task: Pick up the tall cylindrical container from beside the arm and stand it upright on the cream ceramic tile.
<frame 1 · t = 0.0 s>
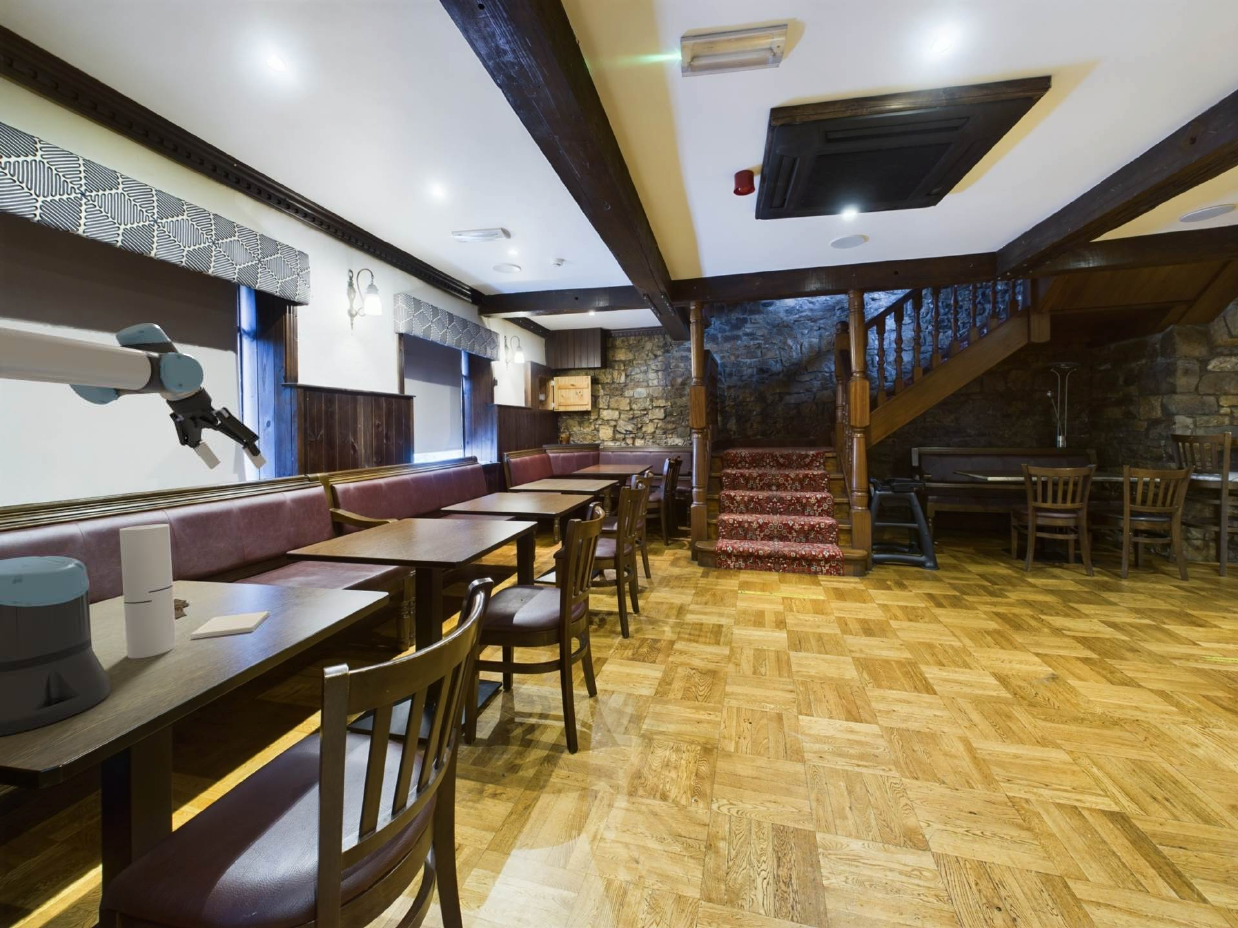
hand: (238, 465, 124), 36 cm above the table, tool tilted 35°, fingers open, 13 cm apart
brown relief tablet: (159, 612, 123), on the table
ceramic tile: (232, 626, 112), on the table
cylindrical container: (152, 651, 99), on the table
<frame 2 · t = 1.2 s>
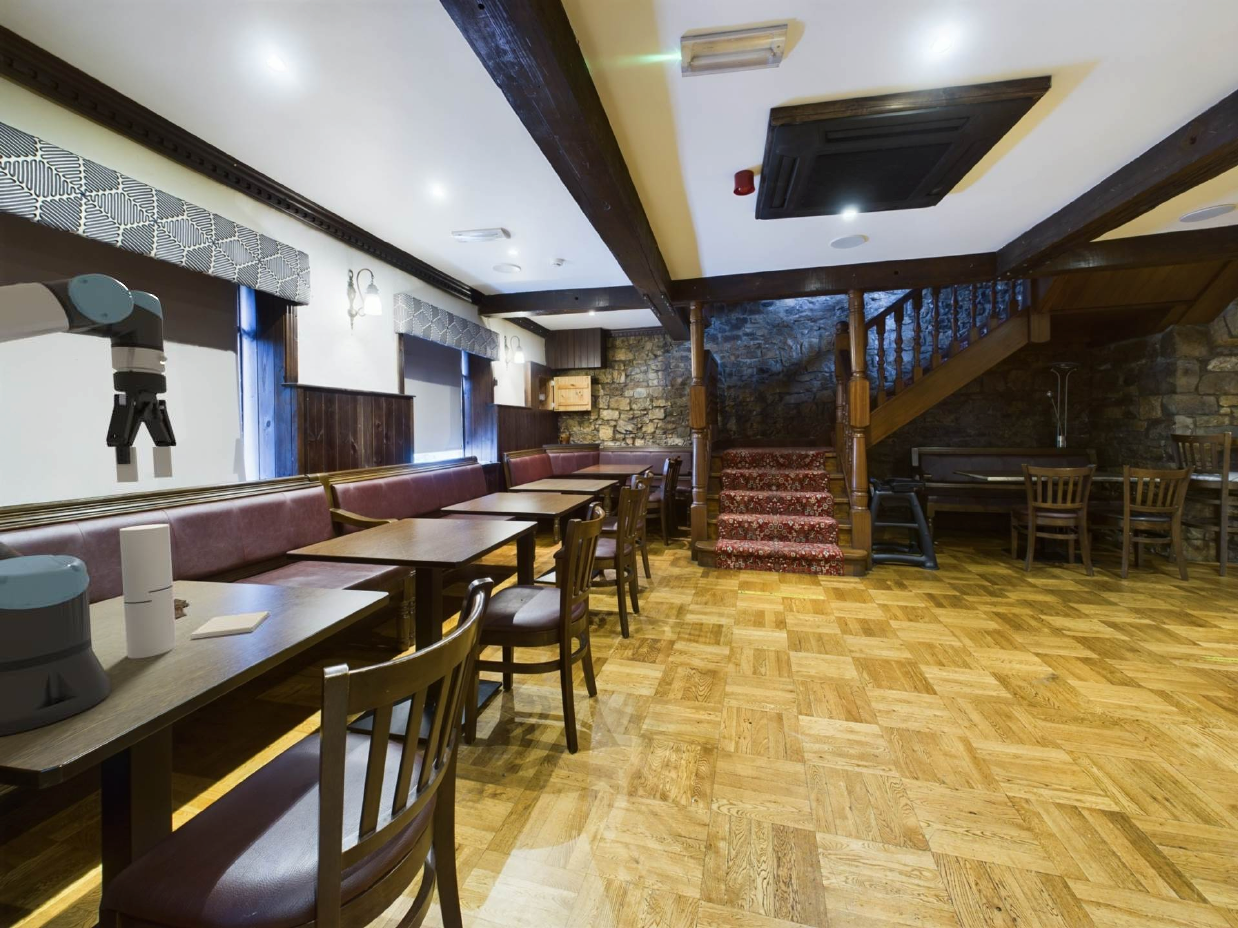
hand: (146, 479, 98), 34 cm above the table, tool pointing down, fingers open, 13 cm apart
nothing on the table moved.
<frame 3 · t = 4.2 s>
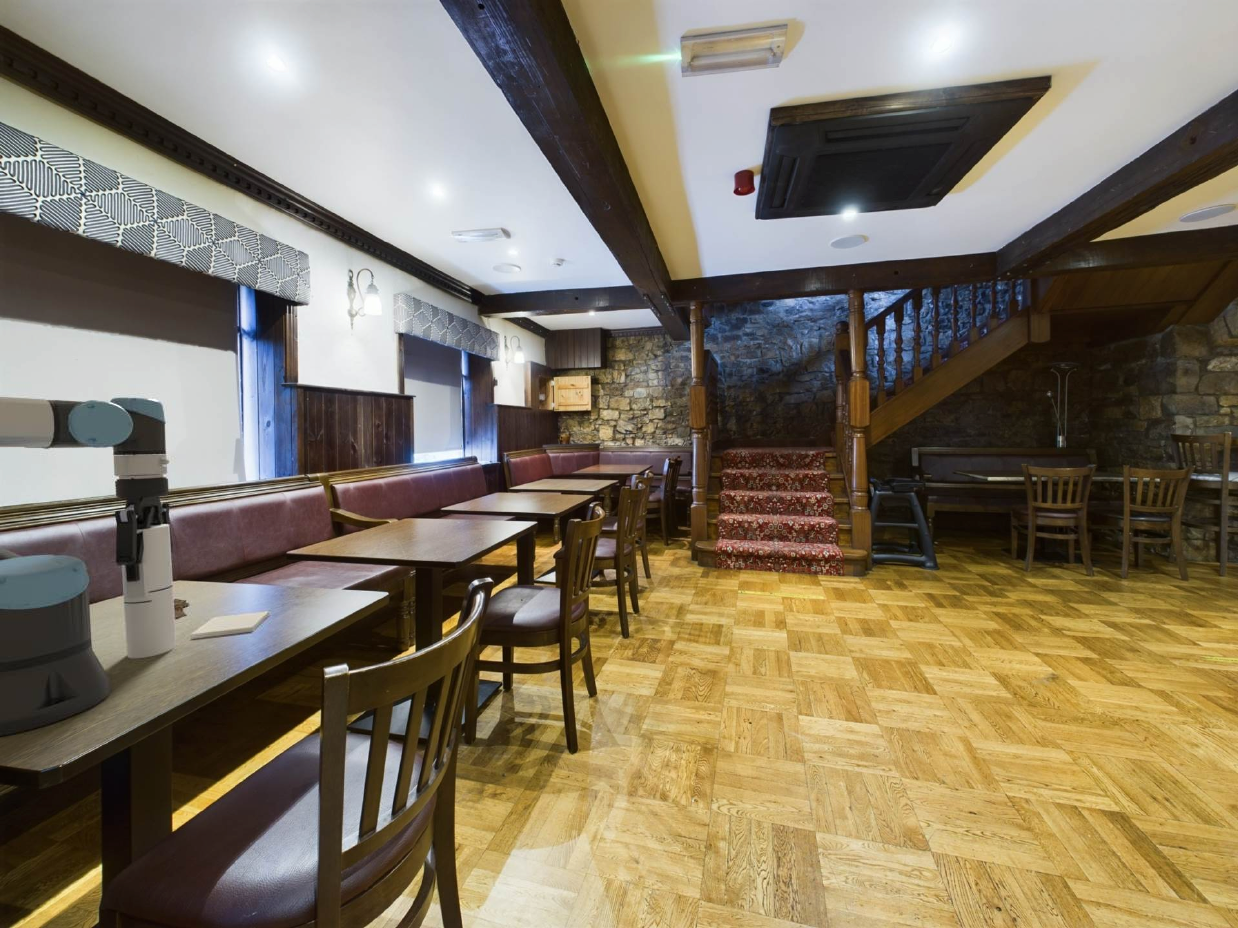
hand: (148, 591, 98), 12 cm above the table, tool pointing down, fingers closed on cylindrical container, 7 cm apart
cylindrical container: (152, 651, 99), on the table, touching gripper
everything else where it was.
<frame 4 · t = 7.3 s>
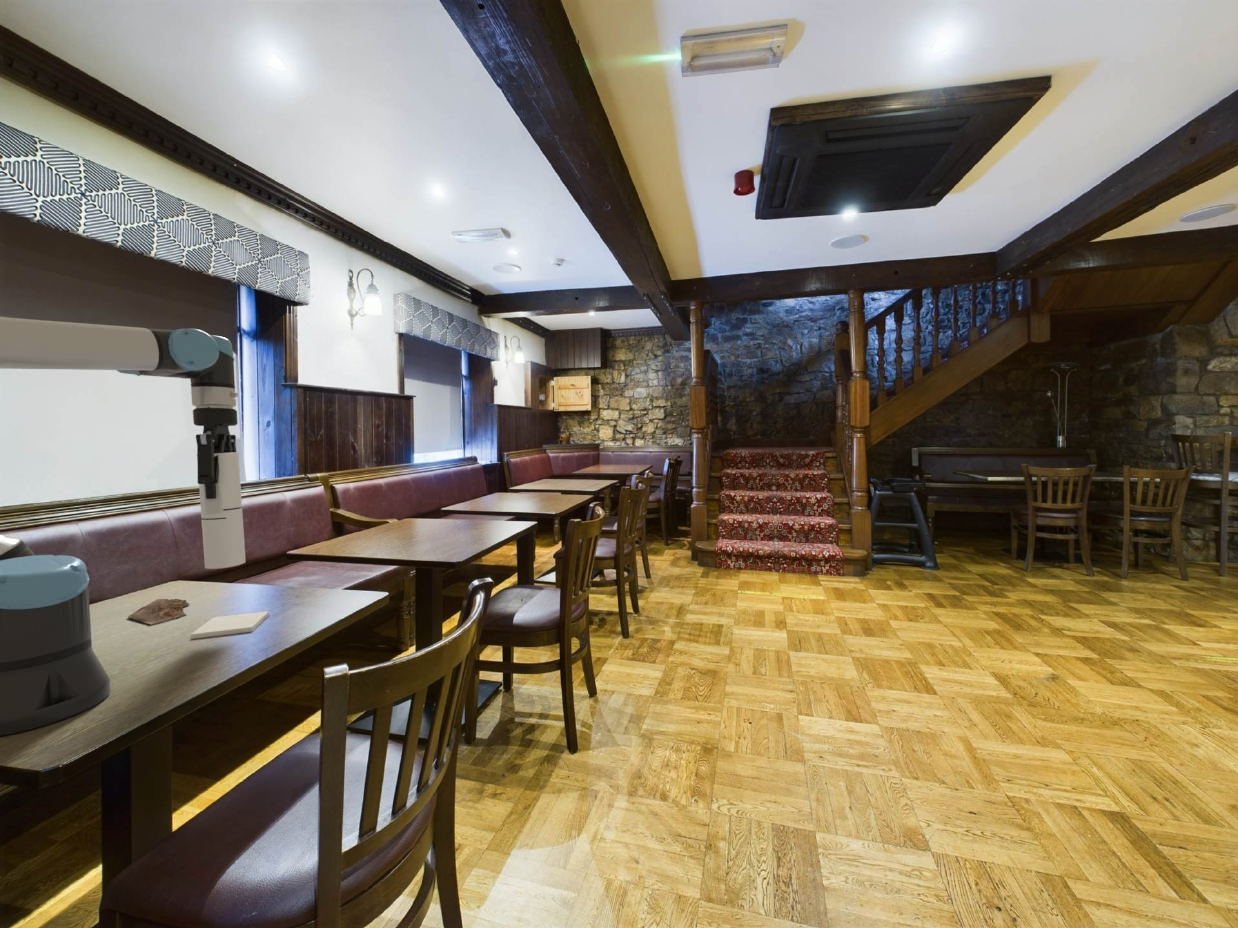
hand: (222, 511, 110), 26 cm above the table, tool pointing down, fingers closed on cylindrical container, 7 cm apart
cylindrical container: (225, 565, 110), point 14 cm above the table, touching gripper
everything else where it was.
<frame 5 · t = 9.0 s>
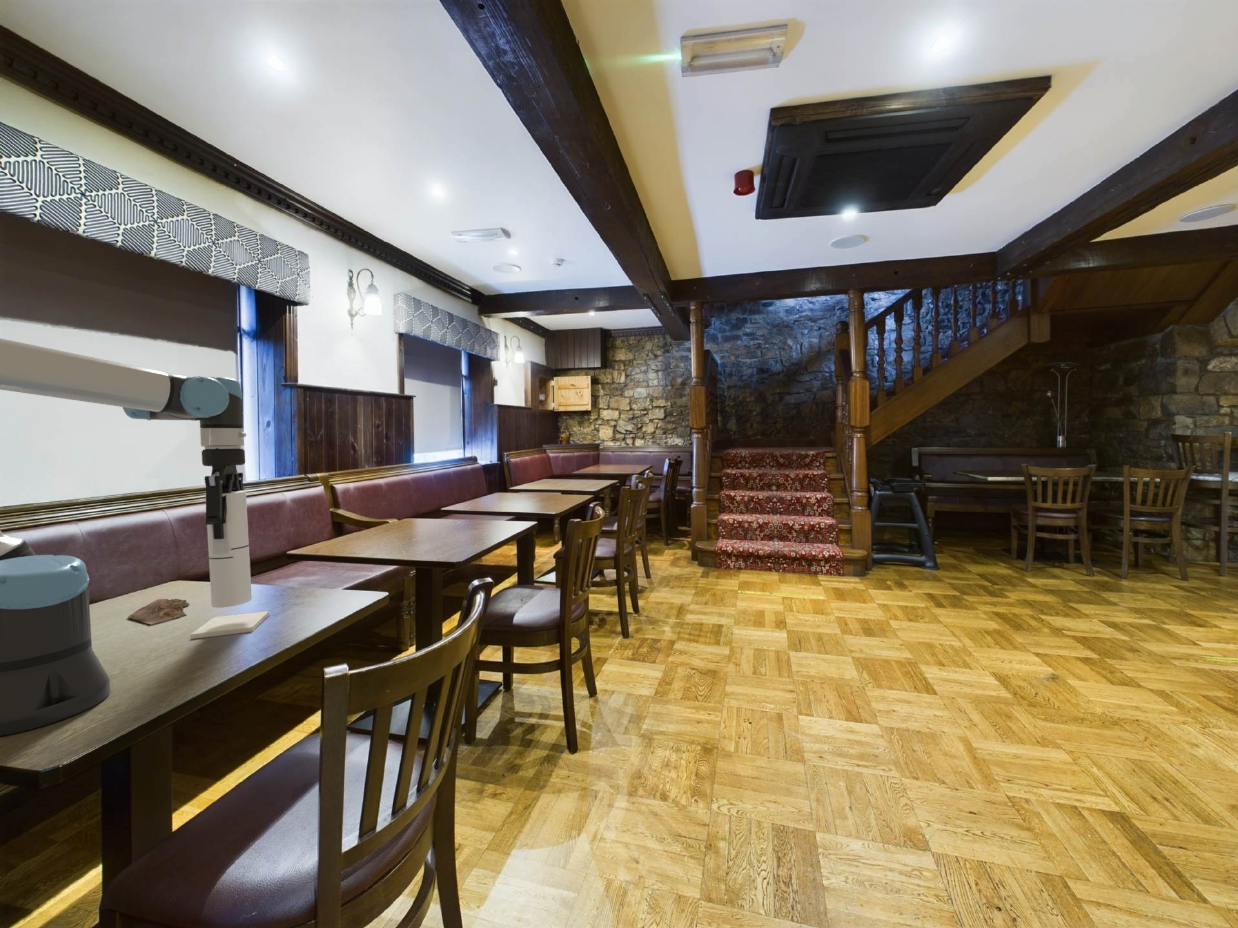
hand: (229, 549, 111), 18 cm above the table, tool pointing down, fingers closed on cylindrical container, 7 cm apart
cylindrical container: (232, 603, 112), point 5 cm above the table, touching gripper
everything else where it was.
when the fingers open (15 cm above the table, at t = 10.4 s): cylindrical container drops 1 cm, resting on ceramic tile.
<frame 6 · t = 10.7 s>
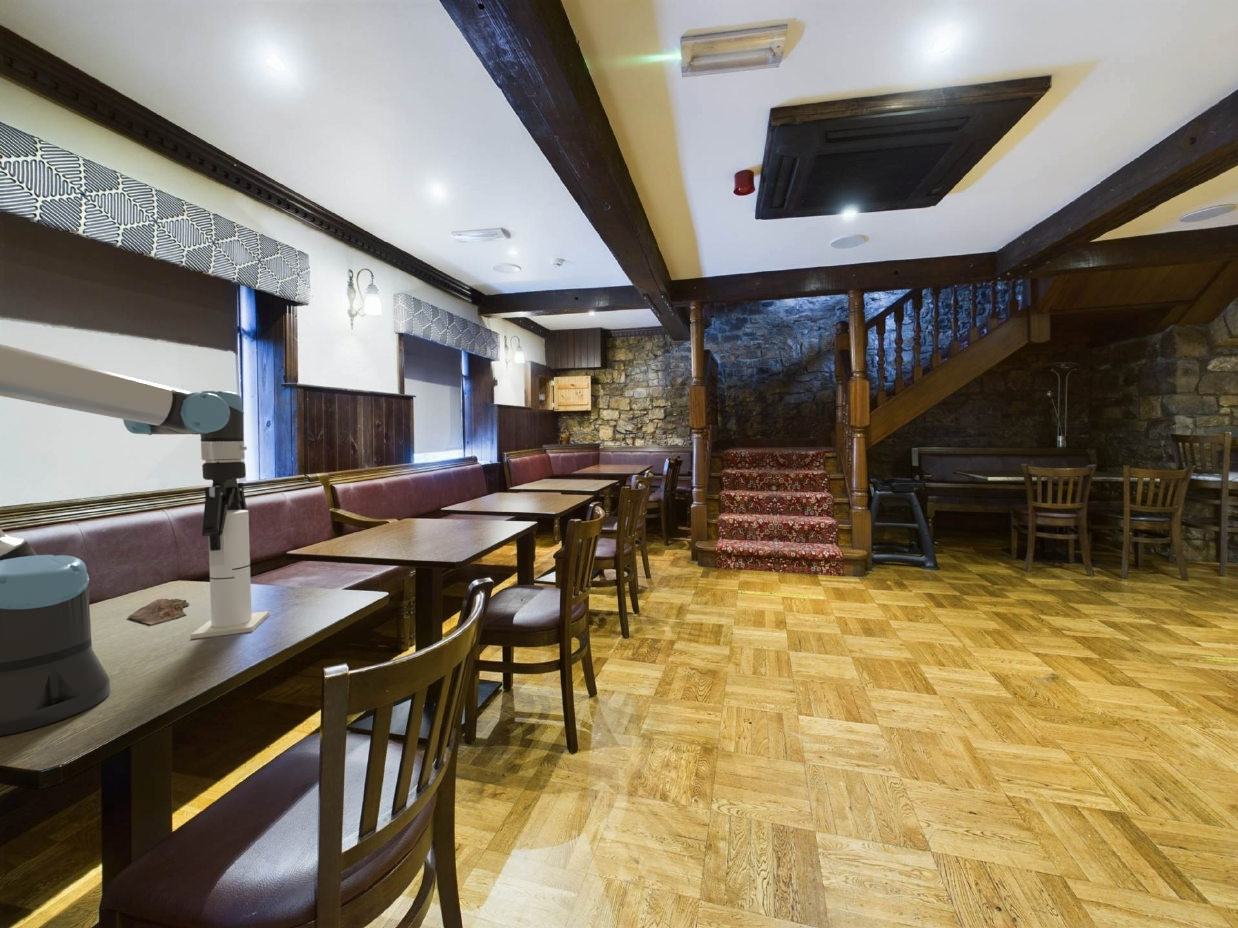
hand: (229, 559, 111), 15 cm above the table, tool pointing down, fingers open, 10 cm apart
cylindrical container: (231, 622, 112), point 1 cm above the table, touching ceramic tile
everything else where it was.
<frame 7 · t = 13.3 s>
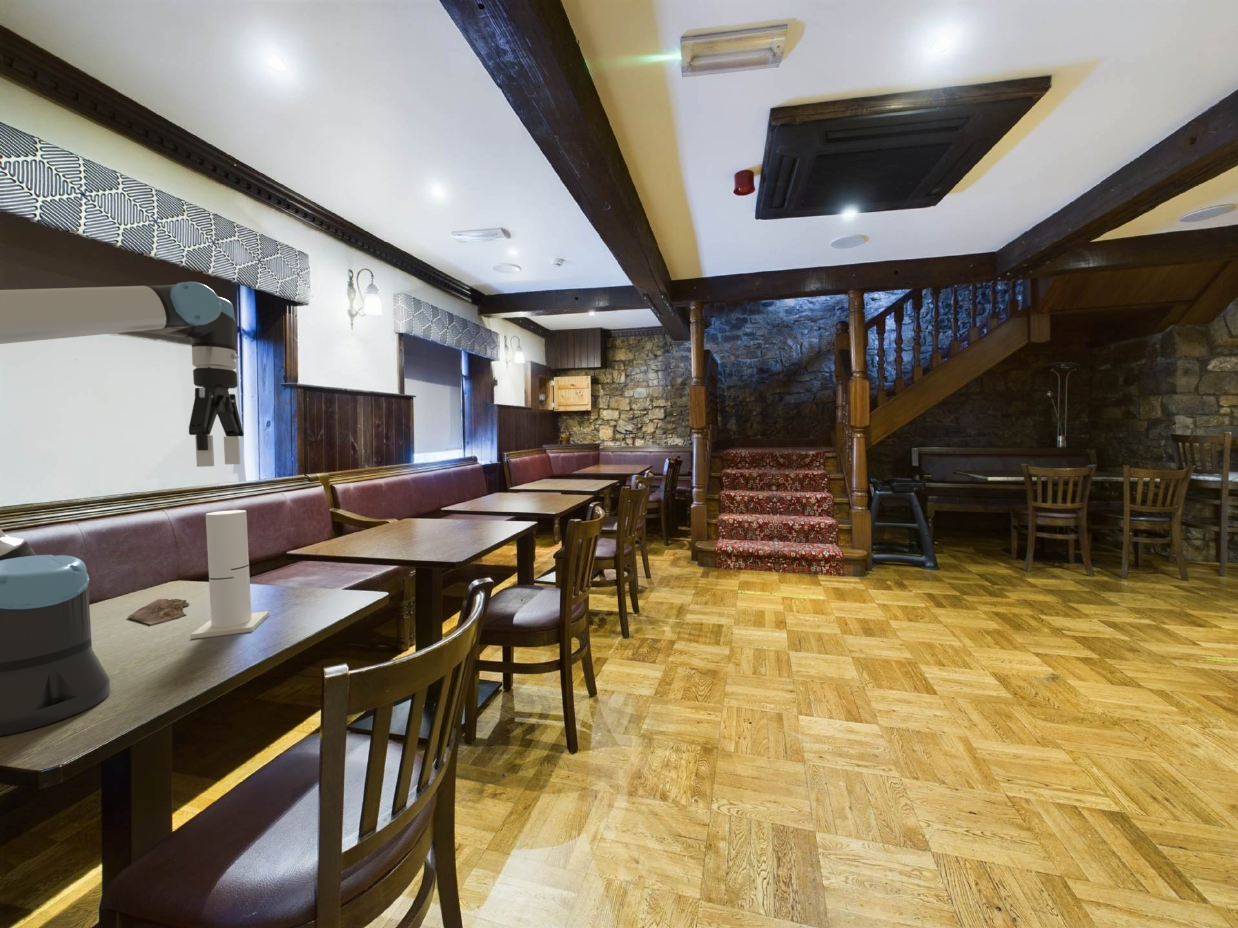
hand: (219, 465, 109), 37 cm above the table, tool pointing down, fingers open, 13 cm apart
nothing on the table moved.
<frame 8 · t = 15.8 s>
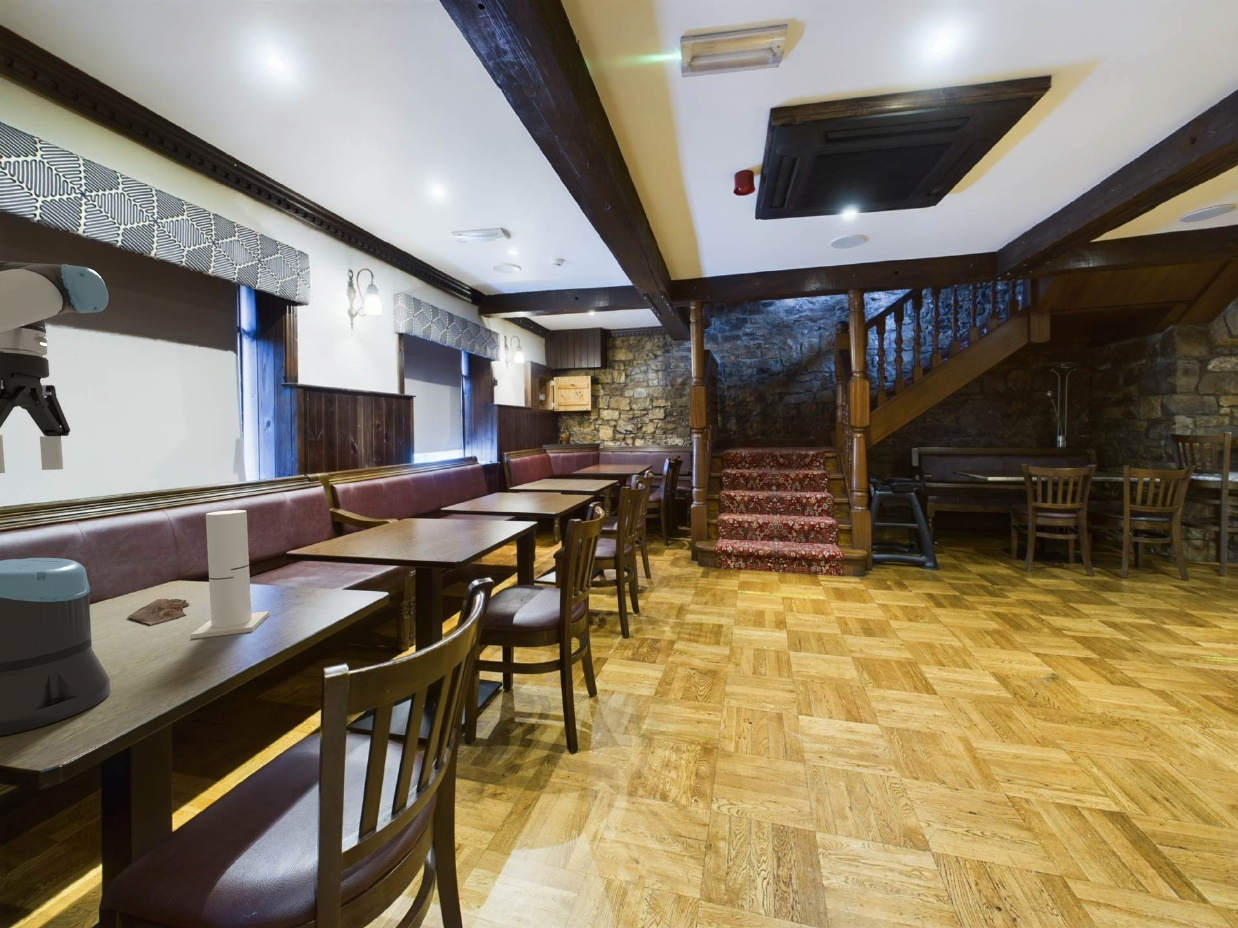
hand: (24, 471, 90), 37 cm above the table, tool pointing down, fingers open, 13 cm apart
nothing on the table moved.
at the end: cylindrical container inside the target area on the ceramic tile (0.1 cm from its centre), point 0.8 cm above the ceramic tile's base; cylindrical container tilted 0°; cylindrical container touching ceramic tile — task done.
